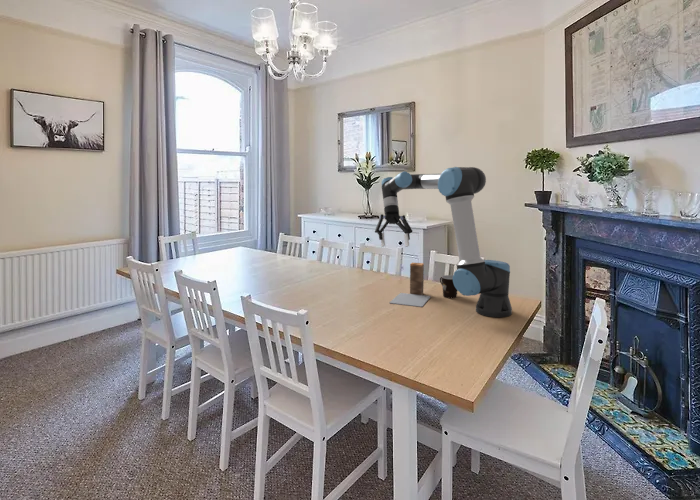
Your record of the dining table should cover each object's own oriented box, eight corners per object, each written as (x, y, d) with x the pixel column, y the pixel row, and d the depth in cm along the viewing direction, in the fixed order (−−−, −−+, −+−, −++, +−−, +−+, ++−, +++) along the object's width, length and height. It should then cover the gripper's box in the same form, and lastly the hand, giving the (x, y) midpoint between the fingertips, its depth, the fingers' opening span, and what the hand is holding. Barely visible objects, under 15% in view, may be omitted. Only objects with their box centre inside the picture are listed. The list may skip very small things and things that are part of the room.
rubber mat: (430, 296, 203) (430, 296, 203) (422, 307, 187) (422, 306, 187) (400, 293, 210) (400, 292, 210) (389, 303, 194) (389, 302, 194)
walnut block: (423, 293, 209) (423, 263, 206) (421, 295, 206) (421, 264, 203) (412, 292, 212) (412, 262, 209) (409, 294, 208) (410, 264, 205)
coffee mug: (460, 298, 199) (461, 279, 197) (443, 299, 199) (443, 279, 197) (454, 292, 210) (455, 273, 209) (438, 292, 211) (438, 273, 209)
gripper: (409, 210, 218) (413, 248, 213) (366, 208, 210) (370, 247, 204) (415, 205, 211) (420, 244, 206) (371, 203, 203) (375, 243, 198)
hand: (395, 246), depth 205 cm, fingers open, 13 cm apart
